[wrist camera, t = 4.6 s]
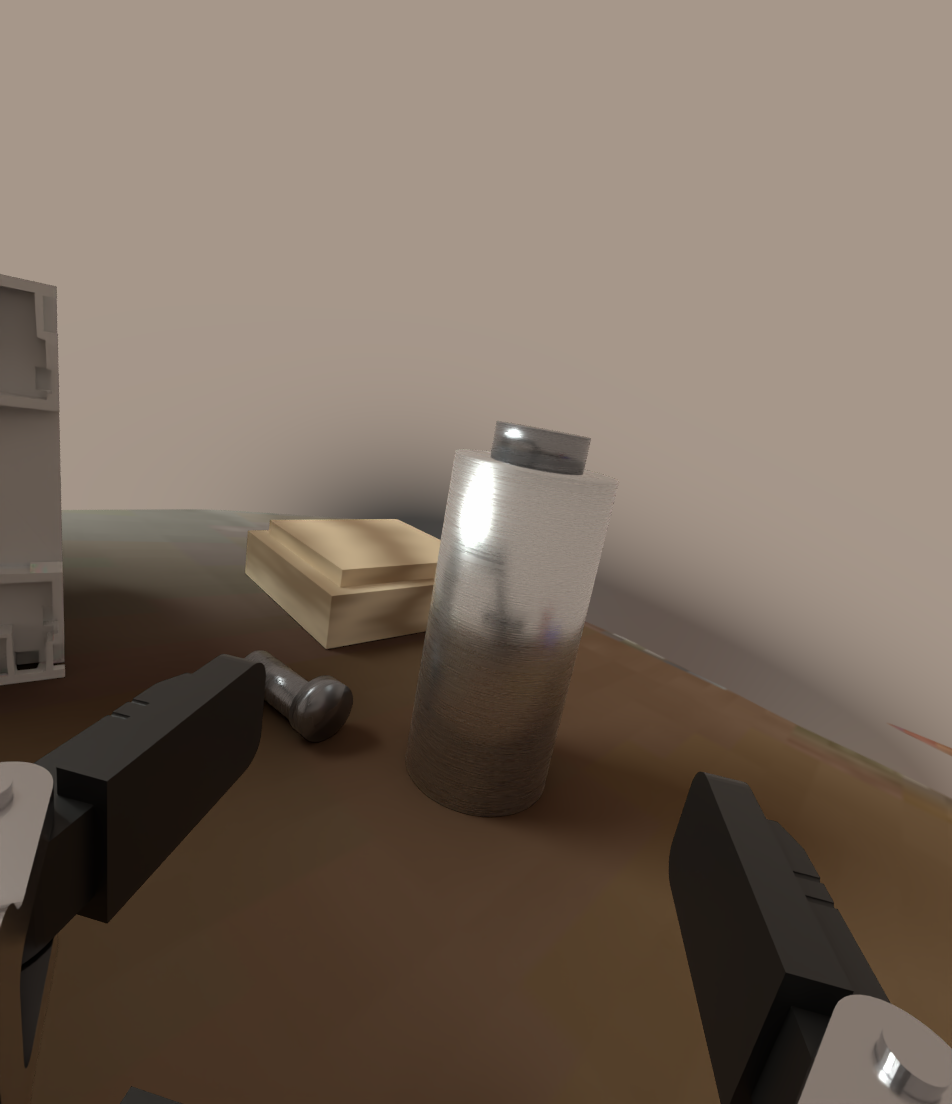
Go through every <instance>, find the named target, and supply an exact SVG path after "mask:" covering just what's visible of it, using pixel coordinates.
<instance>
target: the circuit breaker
mask: <svg viewBox="0 0 952 1104" xmlns="http://www.w3.org/2000/svg"><path fill="white" fill-rule="evenodd" d="M56 298H57V287H56V286H52V285H47V284H42V283H38V282H34V281H29V280H24V279H20V278H15V277H11V276H6V275H1V274H0V685H6V684H14V683H22V682H30V681H38V680H46V679H53V678H61V677H65V664H63V665H55V666H53V663H61V662H64V602H63V563H62V522H61V477H60V431H59V374H58V334H57V300H56ZM37 662H40V663H39V665H38V667H37V668H35V669H27V670H17V665H20V664H29V663H37Z"/></svg>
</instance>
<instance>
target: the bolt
mask: <svg viewBox="0 0 952 1104" xmlns="http://www.w3.org/2000/svg"><path fill="white" fill-rule="evenodd" d="M244 659H248V660H252V661H256V662H260V663H262V664H263V665H264V666H265V670H266V681H265V693H264V700H265V701H266V702H268V703H269V704H270V705H271V706H273V707H274V708H275V709H276V710H278V711H279V712H280V713H281V714H282V715H284V716H285V717H286V718H287V719H289V721H290V724H291V726H292V727H293V728H294V729H295V730H296V731H297V732H298V733H300V734H301V735H302V736H303V737H304V738H306V739H307V740H309V741H311V742H319V741H323V740H325V739H327V738H329V737H331V736H332V735H333V734H335V733H336V732H337V731H338V730H339V729H340V728H341V727H342V725H343V724H344V723H345V721H346V720H347V718H348V716H349V714H350V711H351V708H352V704H353V696H352V692H351V690H350V689H349V688H348V687H347V686H346V685H344V684H343V683H341V682H340V681H338V680H337V679H335V678H334V677H332V676H326V675H325V676H320V677H317V678H315V679H313V680H311V681H309V682H308V681H307V680H306V679H304V678H303V677H301V676H300V675H299V674H297V673H296V672H294V671H293V670H292V669H290V668H289V667H288V666H286V665H285V664H283V663H282V662H281V661H279V660H278V659H276V658H275V657H274V656H272V655H271V654H270V653H268V652H267V651H264V650H258V651H254V652H252V653H250V654H249V655H248V656H246V657H245V658H244Z"/></svg>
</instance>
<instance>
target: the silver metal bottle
mask: <svg viewBox="0 0 952 1104" xmlns="http://www.w3.org/2000/svg"><path fill="white" fill-rule="evenodd" d="M590 441H591V438H587V437H583V436H579V435H574V434H569V433H564V432H558V431H553V430H548V429H542V428H536V427H531V426H525V425H519V424H514V423H507V422H501V421H497V423H496V429H495V434H494V439H493V445H492V450H491V452H490V451H480V450H468V449H467V450H466V449H464V450H463V449H460V450H456V452H455V458H454V463H453V469H452V476H451V482H450V488H449V494H448V501H447V506H446V512H445V518H444V524H443V530H442V537H441V543H440V549H439V555H438V561H437V567H436V573H435V579H434V585H433V592H432V598H431V604H430V610H429V616H428V622H427V628H426V634H425V640H424V647H423V653H422V659H421V665H420V671H419V677H418V683H417V689H416V695H415V702H414V708H413V714H412V720H411V726H410V732H409V738H408V744H407V750H406V757H405V759H406V767H407V771H408V773H409V776H410V777H411V779H412V780H413V782H414V783H415V784H416V786H417V787H418V788H419V789H420V790H421V791H422V792H423V793H424V794H426V795H427V796H428V797H430V798H431V799H432V800H434V801H436V802H437V803H439V804H441V805H443V806H445V807H447V808H450V809H452V810H455V811H458V812H461V813H465V814H469V815H476V816H485V817H497V816H506V815H511V814H514V813H518V812H520V811H523V810H525V809H527V808H528V807H530V806H531V805H533V804H534V803H535V802H536V801H537V800H538V799H539V797H540V796H541V794H542V792H543V790H544V786H545V782H546V778H547V774H548V770H549V766H550V762H551V758H552V753H553V749H554V745H555V741H556V737H557V733H558V729H559V725H560V721H561V717H562V712H563V708H564V704H565V700H566V696H567V692H568V688H569V684H570V680H571V676H572V672H573V667H574V663H575V659H576V655H577V651H578V647H579V643H580V639H581V635H582V631H583V626H584V622H585V618H586V614H587V610H588V606H589V602H590V598H591V594H592V590H593V585H594V581H595V577H596V573H597V569H598V565H599V560H600V556H601V553H602V549H603V545H604V540H605V536H606V532H607V528H608V524H609V520H610V516H611V511H612V508H613V504H614V500H615V495H616V491H617V487H618V483H619V481H618V480H616V479H615V478H612V477H609V476H606V475H603V474H600V473H596V472H593V471H589V470H585V469H584V468H585V464H586V459H587V454H588V450H589V445H590Z"/></svg>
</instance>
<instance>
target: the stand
mask: <svg viewBox="0 0 952 1104" xmlns="http://www.w3.org/2000/svg"><path fill="white" fill-rule="evenodd" d="M440 543H441V540H439V539H437V538H435V537H433V536H431V535H429V534H427V533H425V532H422V531H420V530H418V529H416V528H414V527H412V526H410V525H408V524H406V523H404V522H402V521H399V520H397V519H351V520H270V526H269V530H258V531H248V539H247V553H246V568H245V573H246V574H247V575H248V576H249V577H250V578H251V579H252V580H253V581H254V582H255V583H256V584H257V585H258V586H259V587H260V588H262V589H263V590H264V591H265V592H266V593H267V594H268V595H269V596H270V597H271V598H272V599H273V600H274V601H275V602H276V603H277V604H279V605H280V606H281V607H282V608H283V609H284V610H285V611H286V612H287V613H288V614H289V615H290V616H291V617H292V618H293V619H294V620H296V621H297V622H298V623H299V624H300V625H301V626H302V627H303V628H304V629H305V630H306V631H307V632H308V633H309V634H310V635H312V636H313V637H314V638H315V639H316V640H317V641H318V642H319V643H320V644H321V645H322V646H323V647H324V648H325V649H329V648H335V647H340V646H346V645H352V644H357V643H363V642H368V641H374V640H380V639H385V638H391V637H396V636H402V635H408V634H413V633H419V632H424V631H426V628H427V622H428V616H429V610H430V604H431V598H432V592H433V585H434V579H435V573H436V567H437V561H438V555H439V549H440Z"/></svg>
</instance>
